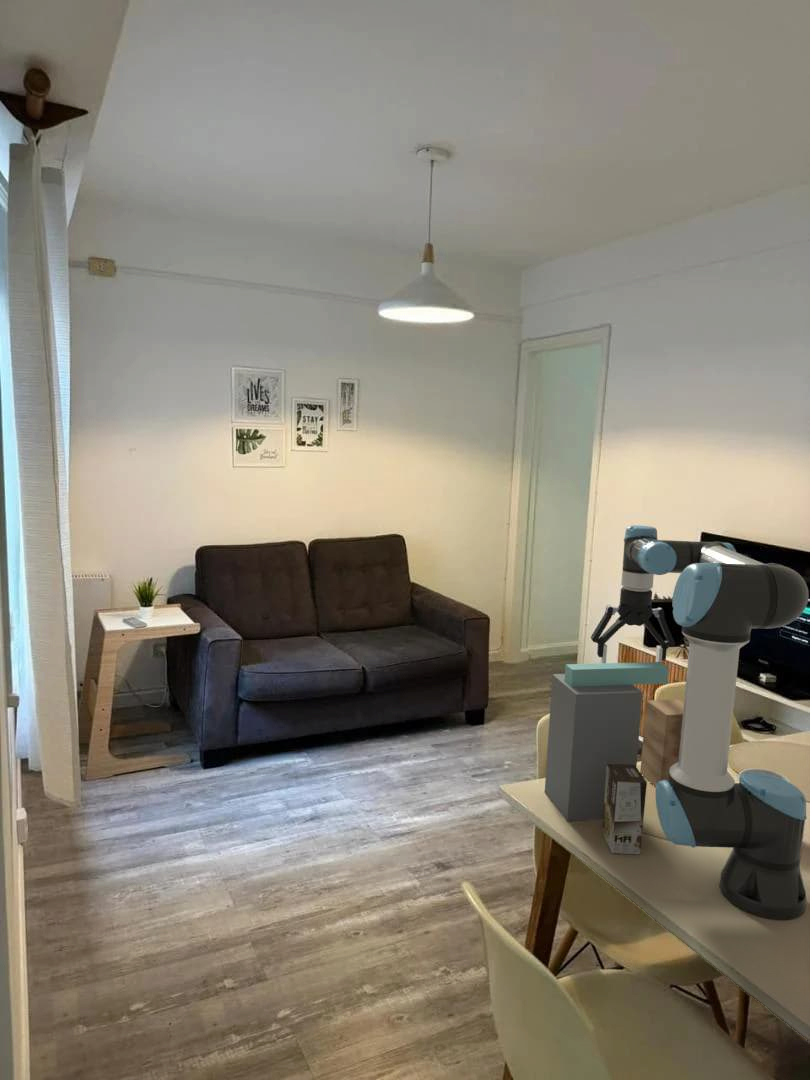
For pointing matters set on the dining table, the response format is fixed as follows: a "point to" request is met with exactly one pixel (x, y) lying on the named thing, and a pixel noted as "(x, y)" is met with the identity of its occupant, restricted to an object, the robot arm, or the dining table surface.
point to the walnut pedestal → (661, 738)
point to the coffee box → (624, 808)
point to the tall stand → (588, 743)
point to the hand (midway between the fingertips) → (630, 671)
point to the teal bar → (616, 674)
